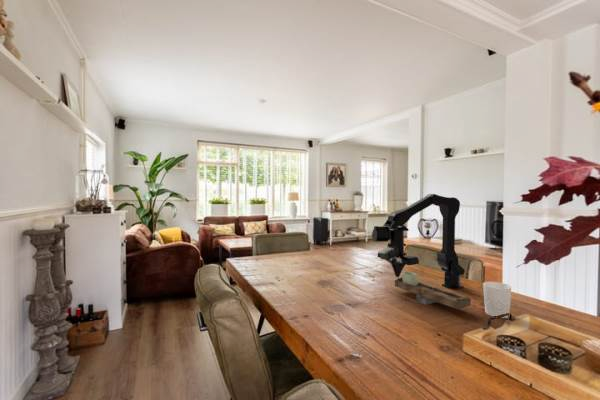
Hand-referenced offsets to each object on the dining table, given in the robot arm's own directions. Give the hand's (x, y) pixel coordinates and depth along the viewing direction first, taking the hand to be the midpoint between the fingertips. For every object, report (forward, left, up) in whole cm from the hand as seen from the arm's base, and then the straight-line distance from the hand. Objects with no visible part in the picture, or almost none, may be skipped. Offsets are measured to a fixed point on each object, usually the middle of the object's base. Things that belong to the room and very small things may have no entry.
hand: (397, 276), depth 122 cm
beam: (0, +16, -6) cm, 17 cm away
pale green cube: (0, +7, -1) cm, 7 cm away
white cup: (-10, +35, -6) cm, 37 cm away
